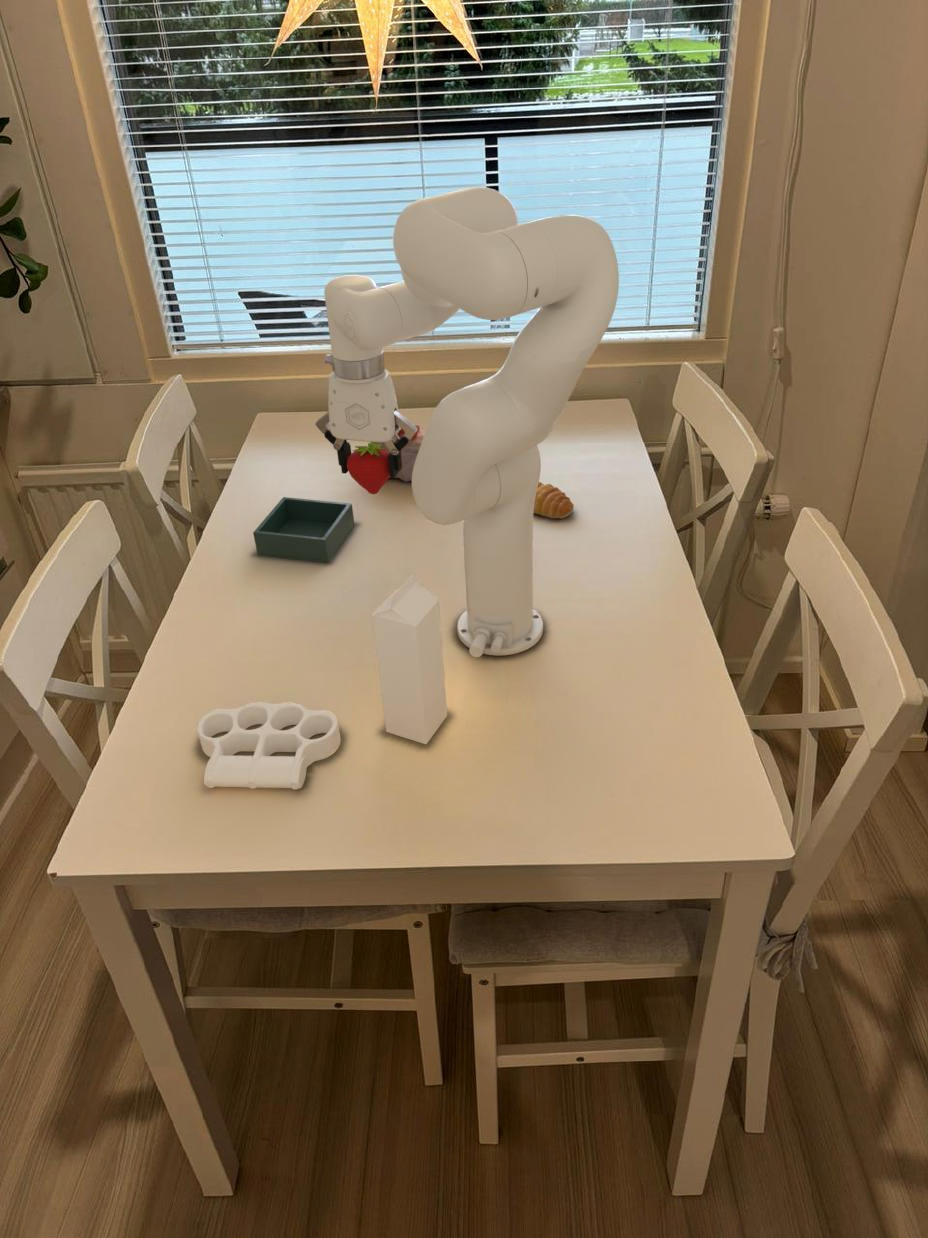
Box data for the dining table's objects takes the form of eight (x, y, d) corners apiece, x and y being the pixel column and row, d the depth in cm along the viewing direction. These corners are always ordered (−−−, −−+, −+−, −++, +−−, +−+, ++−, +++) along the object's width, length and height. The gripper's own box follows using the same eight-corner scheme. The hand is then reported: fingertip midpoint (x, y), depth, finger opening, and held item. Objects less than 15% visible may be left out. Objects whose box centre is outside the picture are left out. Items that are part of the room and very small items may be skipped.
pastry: (582, 510, 164) (583, 491, 161) (557, 525, 160) (557, 506, 158) (542, 494, 169) (542, 475, 167) (517, 508, 165) (517, 489, 163)
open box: (328, 562, 153) (325, 540, 151) (257, 554, 156) (252, 532, 154) (354, 525, 163) (351, 503, 160) (287, 518, 166) (283, 496, 163)
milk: (386, 733, 120) (366, 593, 107) (408, 704, 124) (392, 566, 111) (427, 745, 118) (412, 604, 105) (449, 715, 122) (437, 576, 109)
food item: (449, 465, 180) (446, 417, 174) (443, 484, 174) (440, 436, 168) (380, 463, 182) (375, 416, 176) (372, 483, 175) (367, 435, 170)
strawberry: (350, 486, 152) (343, 430, 146) (396, 483, 153) (391, 426, 147) (349, 504, 147) (342, 446, 142) (397, 500, 148) (391, 443, 142)
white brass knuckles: (181, 793, 113) (216, 712, 125) (327, 796, 111) (348, 714, 123) (175, 773, 111) (210, 693, 123) (323, 776, 109) (345, 695, 121)
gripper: (294, 370, 136) (311, 477, 147) (407, 377, 132) (416, 487, 143) (314, 351, 142) (329, 456, 153) (422, 358, 138) (430, 465, 149)
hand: (371, 470), depth 148 cm, fingers closed on strawberry, 7 cm apart
